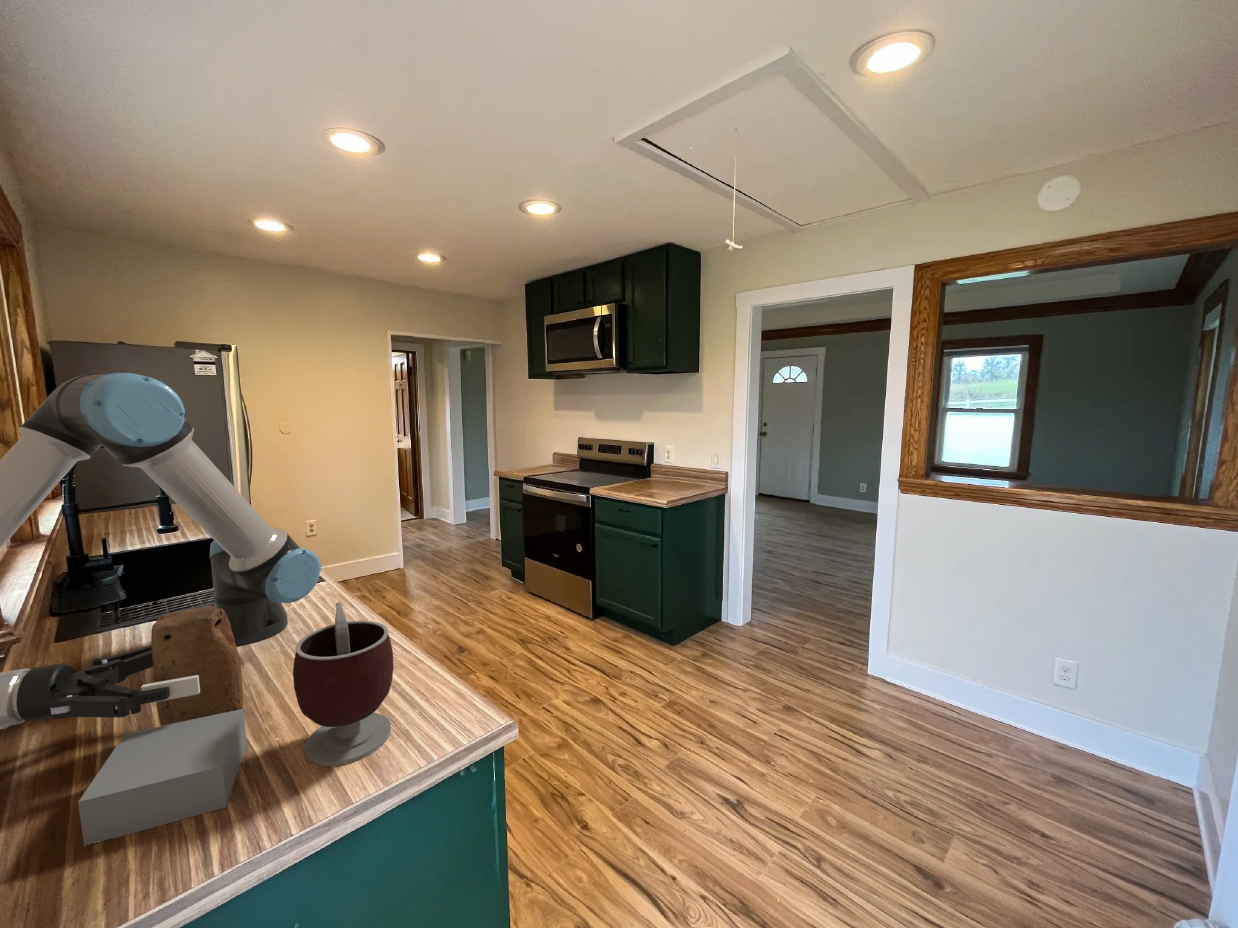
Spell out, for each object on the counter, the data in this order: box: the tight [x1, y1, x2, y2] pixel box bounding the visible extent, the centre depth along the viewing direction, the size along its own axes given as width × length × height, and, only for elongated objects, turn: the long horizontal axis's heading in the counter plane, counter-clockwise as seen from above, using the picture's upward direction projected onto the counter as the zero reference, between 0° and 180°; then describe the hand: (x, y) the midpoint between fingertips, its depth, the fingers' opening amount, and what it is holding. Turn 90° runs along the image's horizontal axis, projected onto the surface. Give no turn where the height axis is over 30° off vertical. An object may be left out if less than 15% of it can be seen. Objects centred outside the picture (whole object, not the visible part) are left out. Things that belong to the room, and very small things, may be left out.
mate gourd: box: [292, 601, 394, 767], centre depth 82 cm, size 16×14×20 cm
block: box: [150, 605, 244, 726], centre depth 84 cm, size 11×8×20 cm
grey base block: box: [78, 708, 248, 846], centre depth 71 cm, size 14×14×6 cm
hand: (210, 663), depth 84 cm, fingers open, 13 cm apart
